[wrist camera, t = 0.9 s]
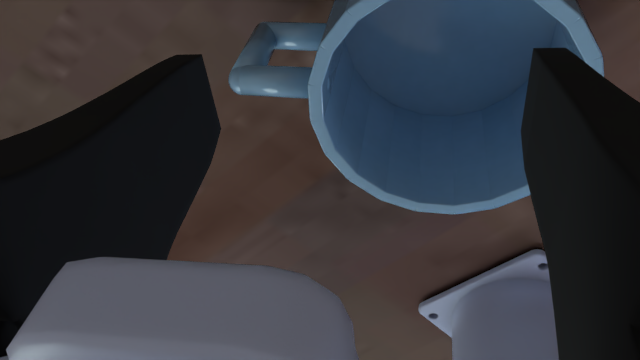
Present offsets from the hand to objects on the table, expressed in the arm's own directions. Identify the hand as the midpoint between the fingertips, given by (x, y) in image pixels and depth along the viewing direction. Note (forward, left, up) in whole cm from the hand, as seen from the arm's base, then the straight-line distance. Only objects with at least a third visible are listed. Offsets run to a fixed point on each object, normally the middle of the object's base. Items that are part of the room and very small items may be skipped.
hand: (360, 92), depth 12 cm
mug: (-3, +1, -10) cm, 10 cm away
